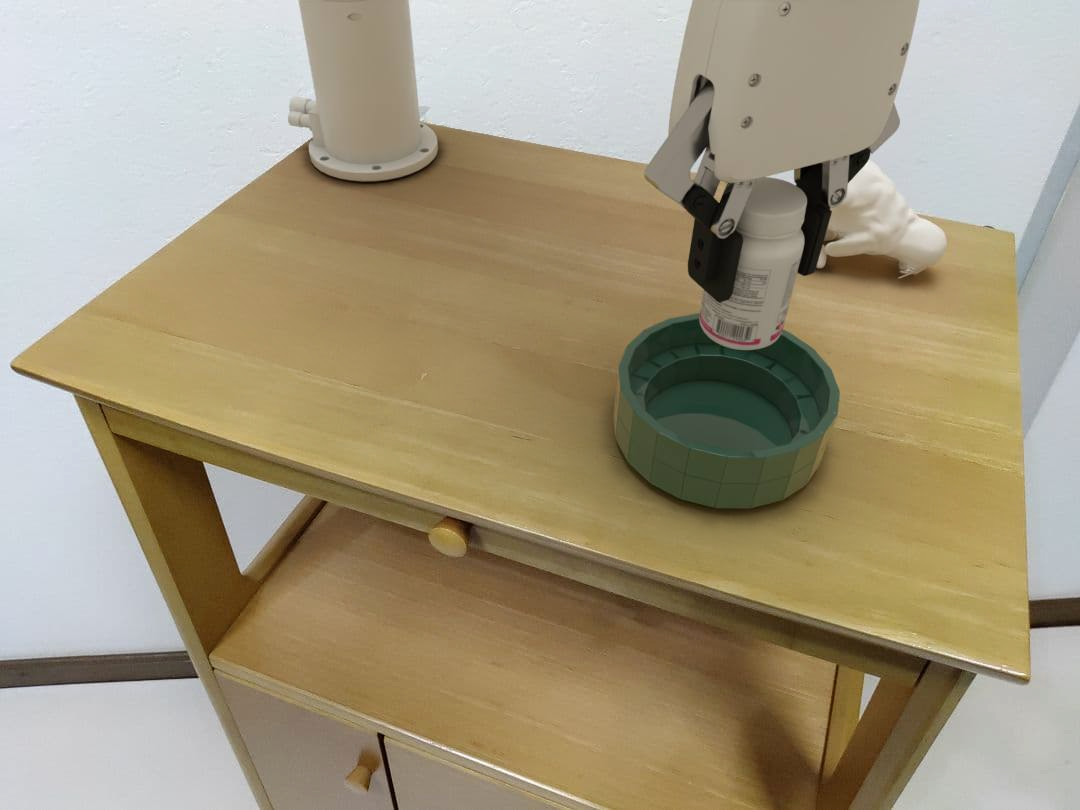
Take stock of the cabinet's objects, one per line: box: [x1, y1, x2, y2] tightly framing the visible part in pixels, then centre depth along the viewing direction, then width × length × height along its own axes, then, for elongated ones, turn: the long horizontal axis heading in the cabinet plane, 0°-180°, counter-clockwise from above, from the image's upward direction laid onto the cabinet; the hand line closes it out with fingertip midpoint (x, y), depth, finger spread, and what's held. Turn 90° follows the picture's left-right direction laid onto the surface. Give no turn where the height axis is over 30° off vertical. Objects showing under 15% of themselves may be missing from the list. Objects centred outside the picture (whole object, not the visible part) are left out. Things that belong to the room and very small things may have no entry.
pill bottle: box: [699, 176, 807, 350], centre depth 44 cm, size 5×5×8 cm
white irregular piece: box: [816, 159, 947, 279], centre depth 66 cm, size 6×8×12 cm
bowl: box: [612, 312, 841, 510], centre depth 52 cm, size 13×13×5 cm
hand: (750, 272), depth 45 cm, fingers closed on pill bottle, 4 cm apart
